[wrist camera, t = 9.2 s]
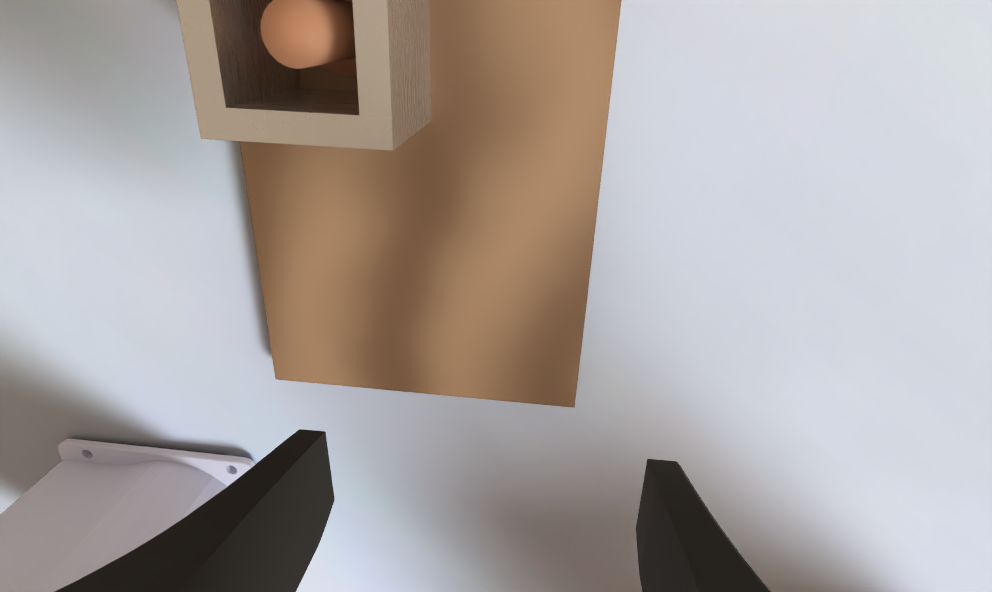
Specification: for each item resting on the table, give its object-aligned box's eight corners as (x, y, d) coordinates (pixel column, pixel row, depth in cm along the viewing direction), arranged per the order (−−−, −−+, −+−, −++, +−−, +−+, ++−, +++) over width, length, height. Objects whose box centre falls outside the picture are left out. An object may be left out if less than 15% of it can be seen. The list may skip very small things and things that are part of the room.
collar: (278, 112, 19) (200, 138, 15) (257, -68, 17) (159, -95, 13) (430, 121, 19) (393, 150, 15) (428, -63, 16) (384, -89, 12)
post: (311, 73, 18) (248, 87, 15) (302, -21, 17) (232, -31, 14) (392, 77, 18) (349, 92, 15) (388, -18, 17) (341, -27, 13)
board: (286, 365, 25) (275, 379, 24) (211, -169, 17) (191, -180, 16) (574, 392, 24) (574, 407, 23) (637, -163, 16) (641, -173, 15)
